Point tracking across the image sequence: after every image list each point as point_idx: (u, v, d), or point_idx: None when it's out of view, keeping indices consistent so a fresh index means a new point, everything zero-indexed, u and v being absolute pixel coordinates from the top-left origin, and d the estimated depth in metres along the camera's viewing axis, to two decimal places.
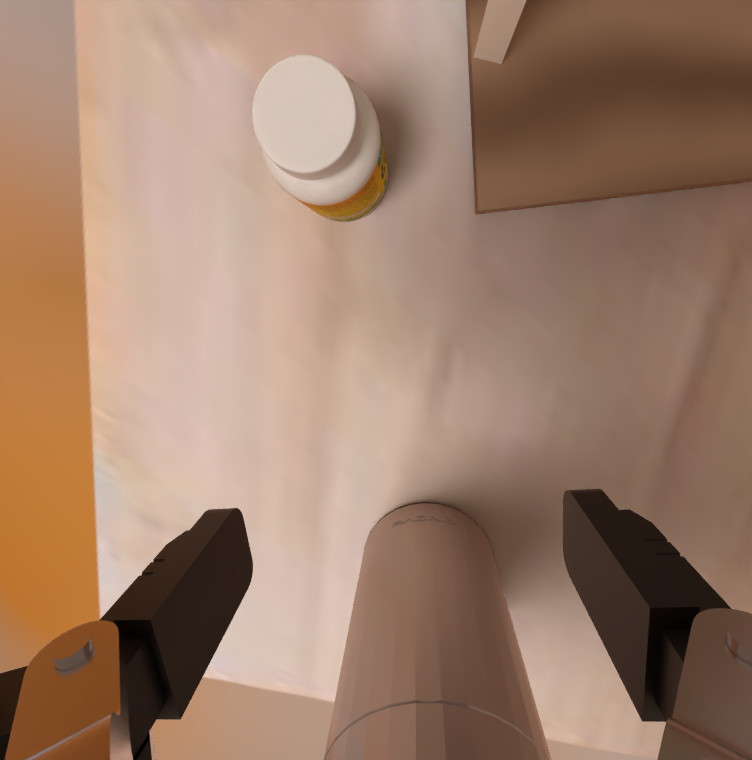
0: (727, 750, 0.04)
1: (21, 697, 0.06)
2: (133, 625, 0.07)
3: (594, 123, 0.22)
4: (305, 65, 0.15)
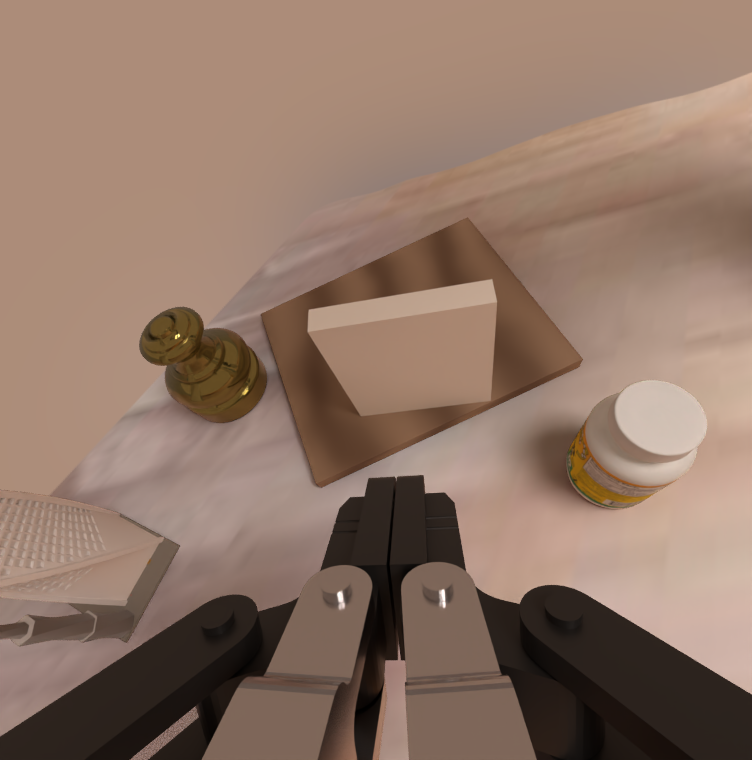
0: (445, 683, 0.05)
1: (318, 623, 0.06)
2: (367, 570, 0.08)
3: (496, 320, 0.34)
4: (626, 423, 0.20)
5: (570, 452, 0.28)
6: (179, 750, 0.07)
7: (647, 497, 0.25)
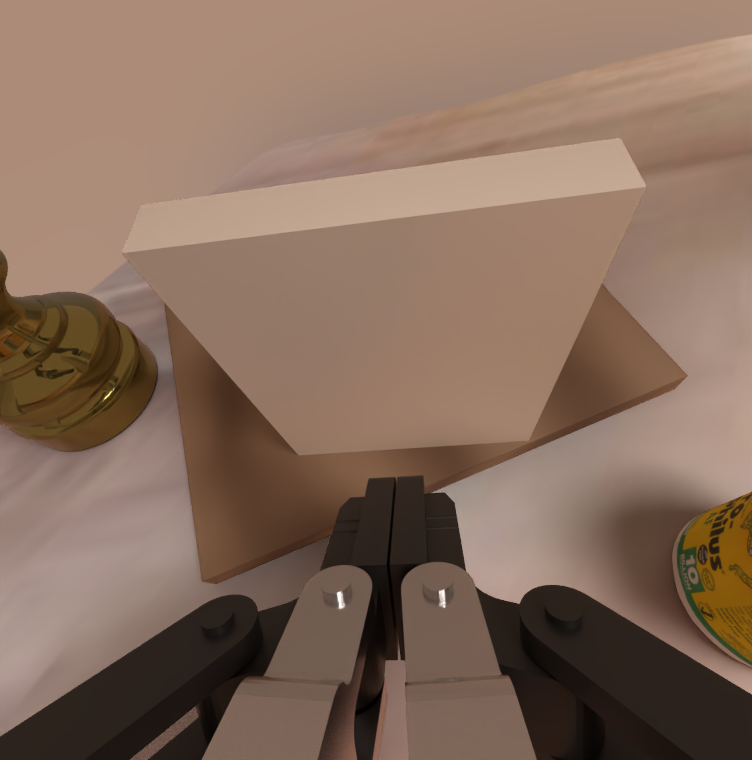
0: (445, 683, 0.05)
1: (318, 623, 0.06)
2: (367, 570, 0.08)
3: None
4: None
5: (695, 555, 0.14)
6: (180, 750, 0.07)
7: None
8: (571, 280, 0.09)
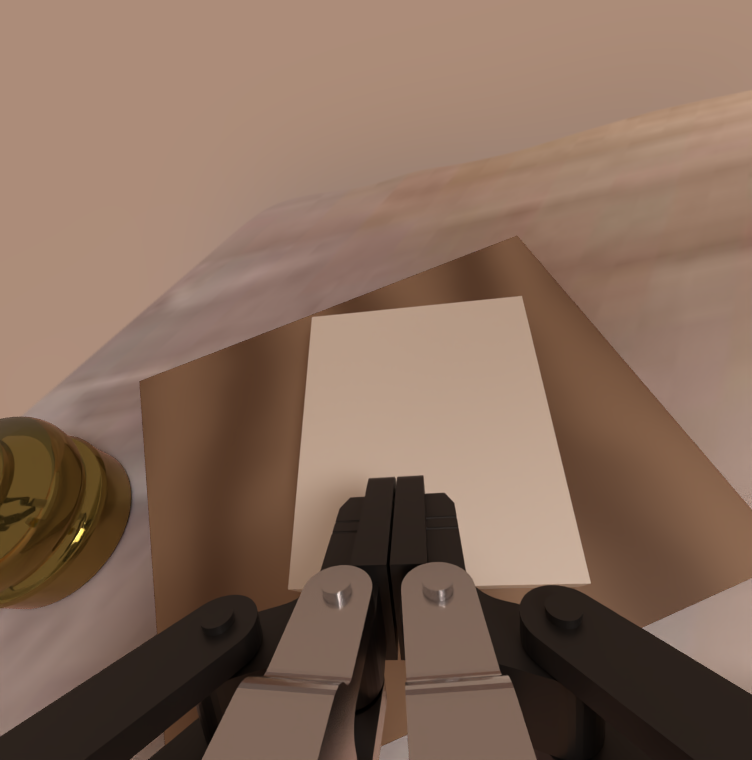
0: (445, 683, 0.05)
1: (318, 623, 0.06)
2: (367, 570, 0.08)
3: (587, 442, 0.17)
4: None
5: None
6: (179, 750, 0.07)
7: None
8: (514, 336, 0.18)
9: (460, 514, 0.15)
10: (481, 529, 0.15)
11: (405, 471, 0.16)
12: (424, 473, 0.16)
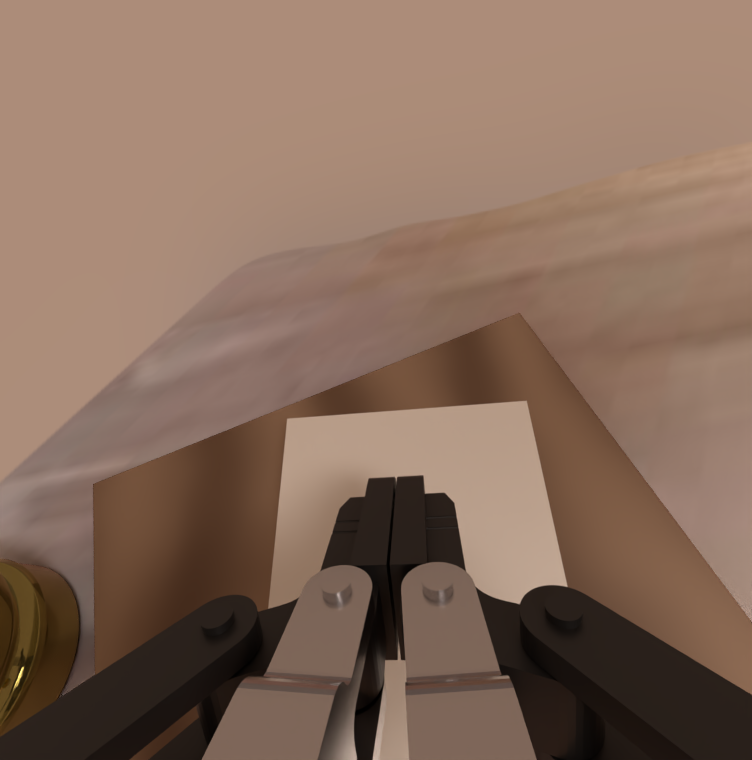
0: (445, 683, 0.05)
1: (318, 623, 0.06)
2: (367, 570, 0.08)
3: (604, 587, 0.15)
4: None
5: None
6: (179, 750, 0.07)
7: None
8: (518, 454, 0.16)
9: None
10: None
11: None
12: None
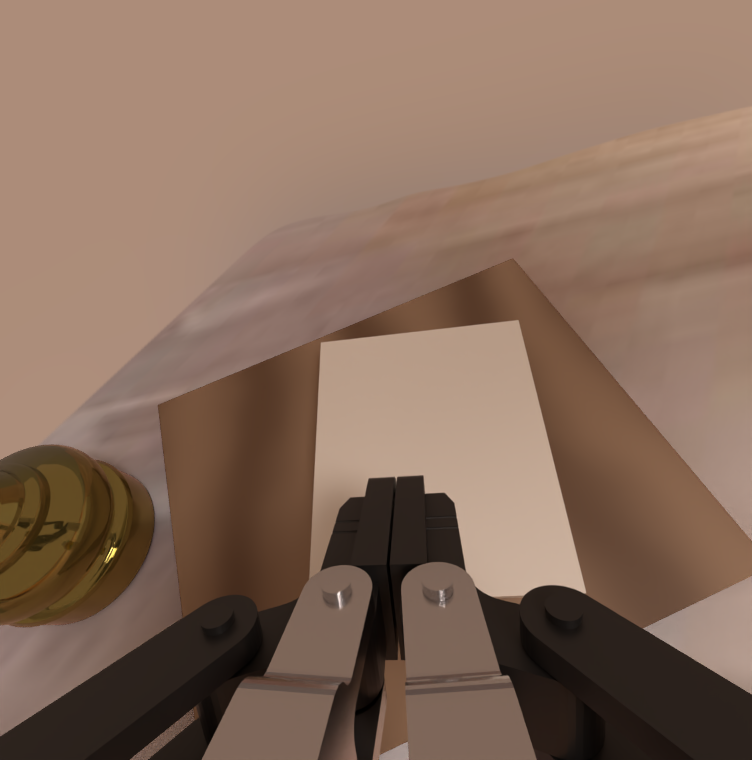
0: (445, 683, 0.05)
1: (318, 623, 0.06)
2: (367, 570, 0.08)
3: (581, 459, 0.18)
4: None
5: None
6: (179, 749, 0.07)
7: None
8: (512, 359, 0.20)
9: (465, 530, 0.16)
10: (485, 544, 0.16)
11: None
12: (431, 492, 0.17)
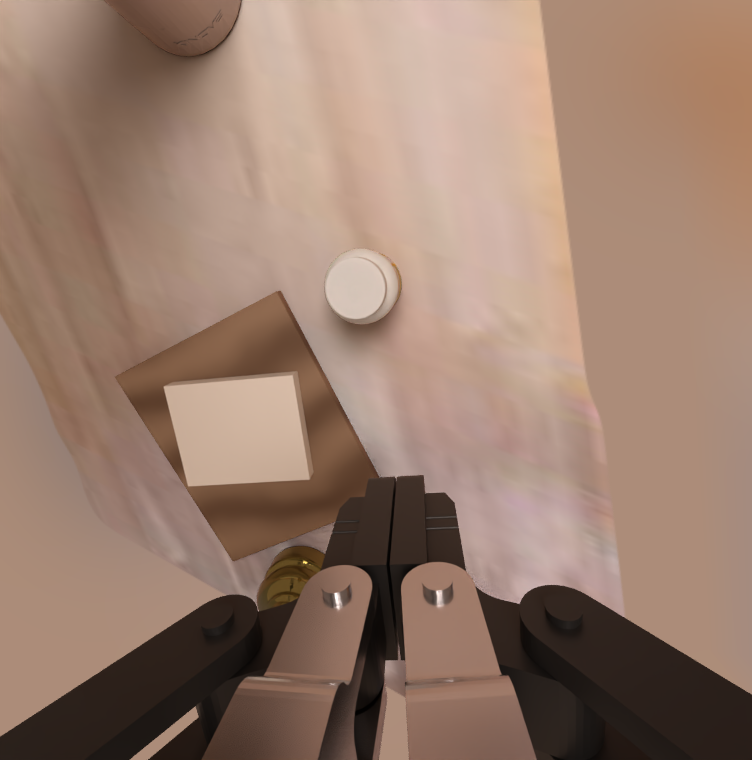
0: (445, 683, 0.05)
1: (318, 623, 0.06)
2: (367, 570, 0.08)
3: (238, 358, 0.38)
4: (361, 313, 0.28)
5: None
6: (179, 749, 0.07)
7: (397, 271, 0.33)
8: (188, 392, 0.38)
9: (274, 418, 0.37)
10: (279, 411, 0.37)
11: (260, 439, 0.38)
12: (260, 432, 0.38)
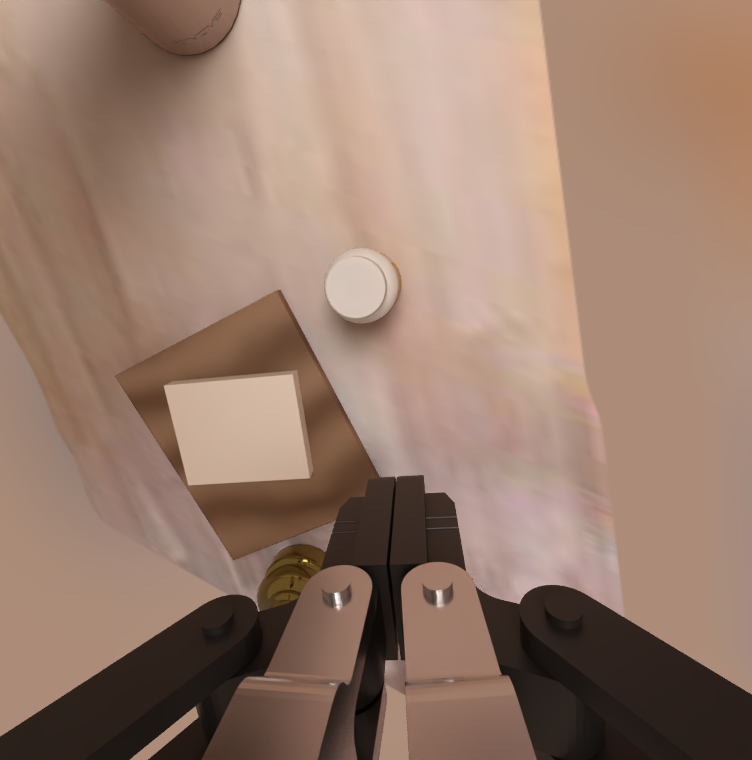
0: (445, 683, 0.05)
1: (318, 623, 0.06)
2: (367, 570, 0.08)
3: (238, 357, 0.38)
4: (361, 312, 0.28)
5: None
6: (179, 749, 0.07)
7: (397, 270, 0.33)
8: (188, 391, 0.38)
9: (274, 417, 0.38)
10: (279, 410, 0.37)
11: (260, 438, 0.38)
12: (260, 431, 0.38)
